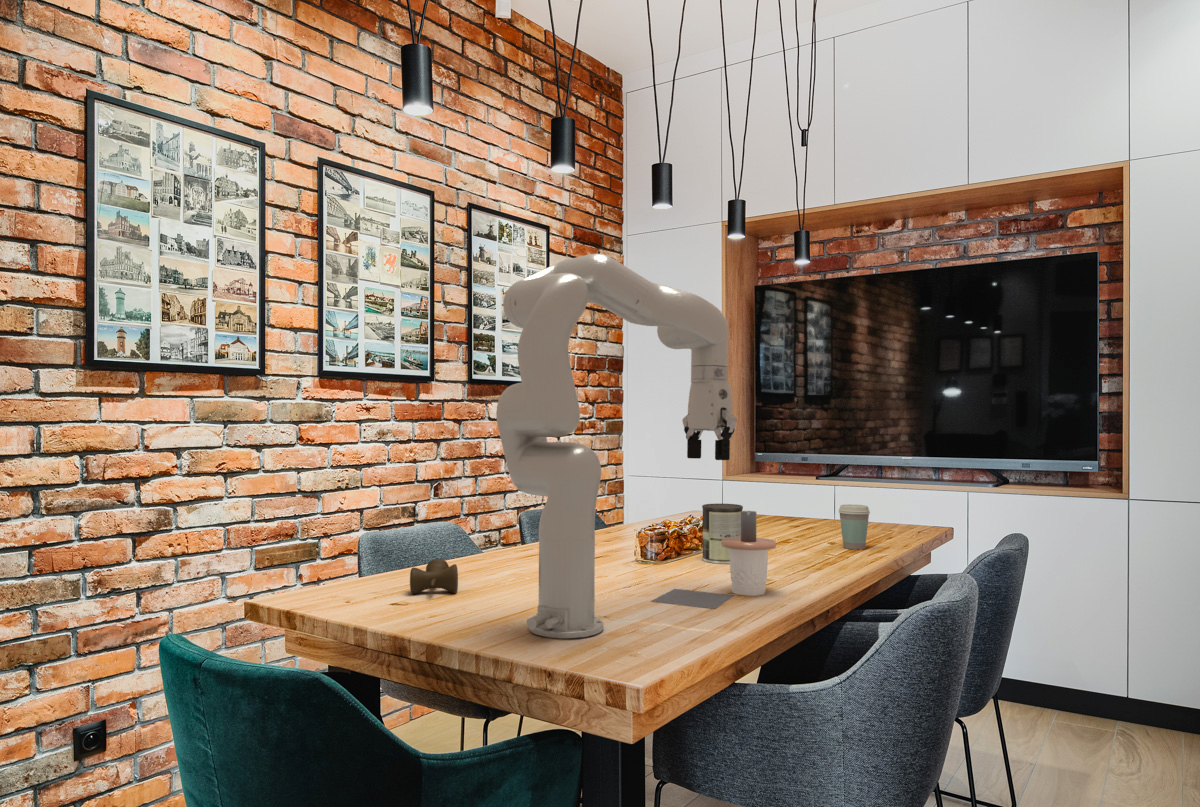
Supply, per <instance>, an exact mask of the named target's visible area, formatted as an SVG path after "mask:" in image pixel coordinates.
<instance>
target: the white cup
mask: <svg viewBox="0 0 1200 807" xmlns="http://www.w3.org/2000/svg"><path fill="white" fill-rule="evenodd" d="M729 552H730V564H729V570H730V581H731V592H732V593H733V594H734V595H735V594H736V595H740V596H752V597H753V596H762V595H765V594H766V593H767V592H766V590H767V589H766V587H767V584H766V583H767V580H768V578H767V576H768V565H769V564H768V563H769V562H768V561H769V550H738V549H731V548H729Z"/></svg>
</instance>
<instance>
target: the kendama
mask: <svg viewBox="0 0 1200 807" xmlns="http://www.w3.org/2000/svg"><path fill="white" fill-rule="evenodd" d="M409 588H410V590H409V591H410V593H411V595H416V594H419V593H421V592H423V591H426V590H430V589H443V590H445V591H448V592H450V593H451V594H454V595H455V594H457V592H458V588H459V571H458V565H457V564H452V565H450V566H449V564H448V562H447V561H446V560H444V559H442V558H435V559H434V558H433V559H432V560H430V561H429V562H428V563H427V565H426V567H425V570H423V569H420V568H419V567H411V569H410V574H409Z"/></svg>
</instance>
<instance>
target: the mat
mask: <svg viewBox="0 0 1200 807" xmlns="http://www.w3.org/2000/svg"><path fill="white" fill-rule="evenodd" d="M733 597H736V595H735V594H727V593H717V592H708V591H701V590H699V591H698V590H689V589H679V588H673V589H672V590H669V591H668V592H666V593H664V594H662V595H659V596H658V597H656V598H654V599H652V600H650V601H649V602H651V603H657V604H666V605H667V604H668V605H676V606H685V607H693V608H703V609H710V610H711V609H712V610H716V609H718V608H719V607H721V606H722V605H723V604H725V603H726V602H728V601H729V600H730V599H732V598H733Z"/></svg>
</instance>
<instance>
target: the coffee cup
mask: <svg viewBox="0 0 1200 807" xmlns="http://www.w3.org/2000/svg"><path fill="white" fill-rule="evenodd" d="M870 511H871V510H870V509H869V506H868V505H863V504H840V506H839V509H838V513H839V520H840V528H841V536H842V546H843V548H844V549H845V548H846V550H851V549H855V550H856V551H858V550H857V549H863V550H865V549H866V544H867V536H868V535H867V534H868V527H869V526H868V525H869V517H870V514H871V512H870Z"/></svg>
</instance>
